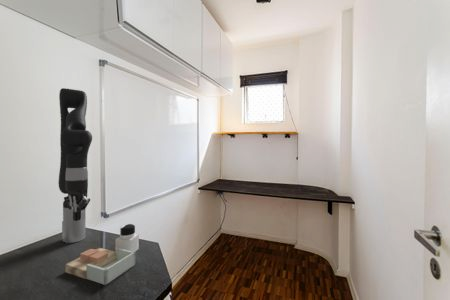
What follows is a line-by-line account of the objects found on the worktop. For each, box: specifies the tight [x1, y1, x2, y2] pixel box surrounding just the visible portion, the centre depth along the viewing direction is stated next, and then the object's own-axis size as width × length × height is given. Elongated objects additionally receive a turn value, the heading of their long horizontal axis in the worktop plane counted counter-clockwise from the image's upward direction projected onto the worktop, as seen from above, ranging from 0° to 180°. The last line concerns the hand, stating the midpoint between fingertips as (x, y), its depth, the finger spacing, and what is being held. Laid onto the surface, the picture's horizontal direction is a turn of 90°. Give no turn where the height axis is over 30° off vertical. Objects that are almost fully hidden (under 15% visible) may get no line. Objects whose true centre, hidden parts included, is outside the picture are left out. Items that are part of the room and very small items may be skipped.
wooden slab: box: [64, 247, 116, 280], centre depth 83 cm, size 11×14×3 cm
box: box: [85, 248, 136, 286], centre depth 80 cm, size 9×14×5 cm
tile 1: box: [79, 248, 99, 261], centre depth 84 cm, size 4×4×2 cm
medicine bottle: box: [115, 223, 140, 253], centre depth 94 cm, size 7×7×12 cm
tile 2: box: [89, 251, 108, 264], centre depth 82 cm, size 4×4×2 cm
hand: (77, 220), depth 87 cm, fingers closed
